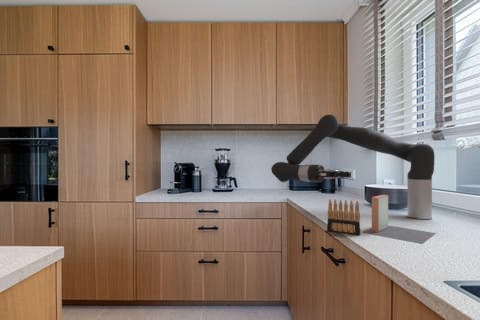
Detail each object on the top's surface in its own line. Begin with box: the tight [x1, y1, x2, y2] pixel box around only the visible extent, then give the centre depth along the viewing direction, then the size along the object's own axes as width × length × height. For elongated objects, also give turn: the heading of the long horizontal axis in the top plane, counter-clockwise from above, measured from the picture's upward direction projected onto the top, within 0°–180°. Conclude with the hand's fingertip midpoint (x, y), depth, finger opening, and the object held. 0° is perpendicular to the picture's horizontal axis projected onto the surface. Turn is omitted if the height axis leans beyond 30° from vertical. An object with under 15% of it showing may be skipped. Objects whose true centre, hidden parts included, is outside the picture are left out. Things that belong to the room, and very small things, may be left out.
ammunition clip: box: [326, 198, 361, 236], centre depth 94 cm, size 11×2×12 cm, turn 60°
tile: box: [371, 194, 389, 232], centre depth 98 cm, size 10×2×12 cm, turn 133°
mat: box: [360, 225, 437, 245], centre depth 94 cm, size 18×18×1 cm
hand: (350, 174), depth 106 cm, fingers closed
